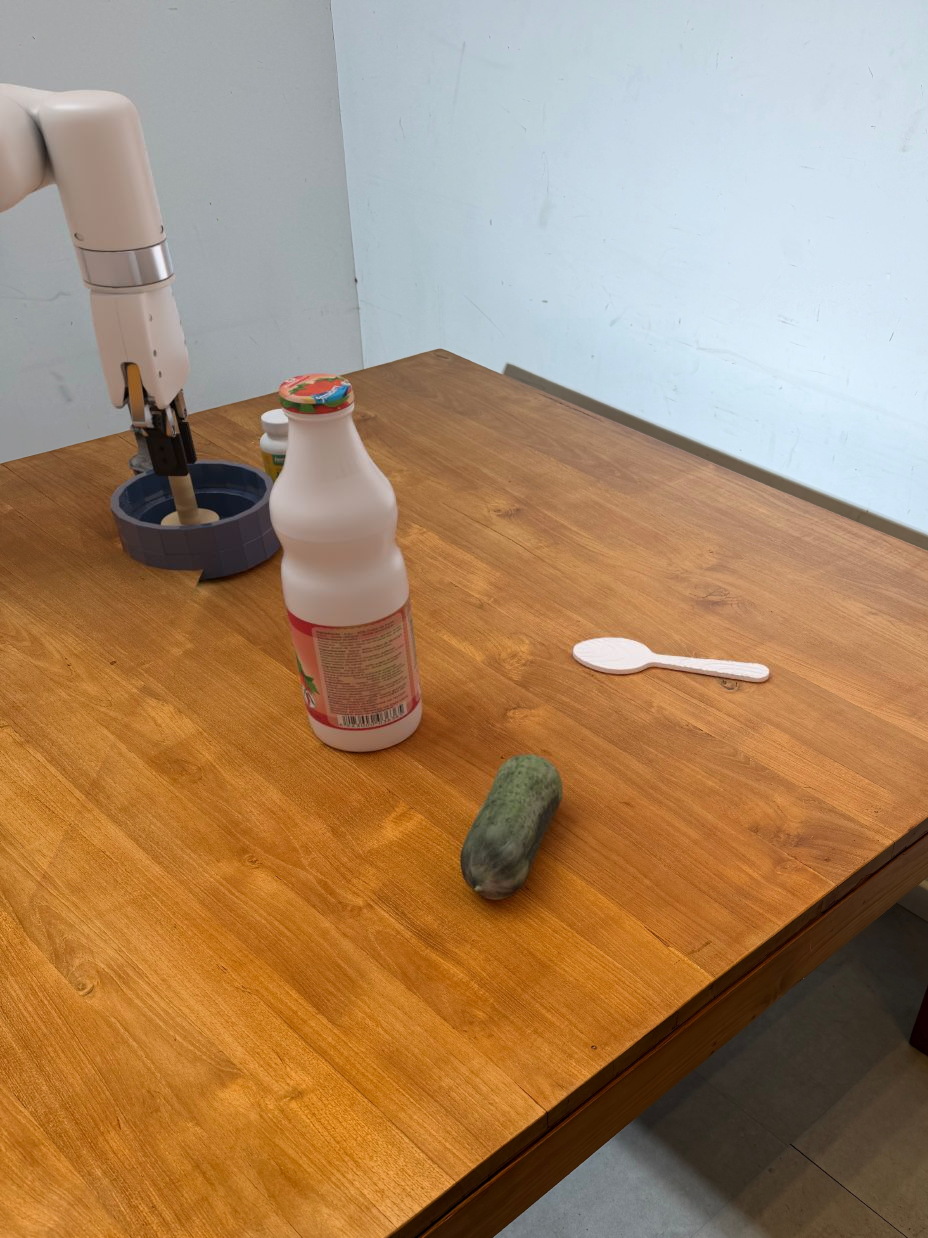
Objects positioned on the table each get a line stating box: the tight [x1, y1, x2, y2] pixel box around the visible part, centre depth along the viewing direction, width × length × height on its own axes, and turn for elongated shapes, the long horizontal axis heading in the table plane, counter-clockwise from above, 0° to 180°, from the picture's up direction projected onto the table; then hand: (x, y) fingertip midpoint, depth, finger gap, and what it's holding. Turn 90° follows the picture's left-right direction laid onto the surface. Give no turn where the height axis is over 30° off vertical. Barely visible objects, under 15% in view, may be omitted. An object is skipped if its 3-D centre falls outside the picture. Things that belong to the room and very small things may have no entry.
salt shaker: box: [126, 398, 153, 476], centre depth 122 cm, size 6×6×12 cm
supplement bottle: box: [259, 408, 289, 483], centre depth 121 cm, size 5×5×10 cm
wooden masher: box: [152, 408, 220, 526], centre depth 109 cm, size 6×6×12 cm
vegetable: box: [459, 753, 564, 901], centre depth 81 cm, size 14×5×5 cm, turn 167°
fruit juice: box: [269, 373, 423, 753], centre depth 85 cm, size 9×9×28 cm
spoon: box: [572, 636, 770, 683], centre depth 102 cm, size 5×18×1 cm, turn 80°
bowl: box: [110, 459, 282, 581], centre depth 114 cm, size 16×16×6 cm
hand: (176, 467), depth 109 cm, fingers closed on wooden masher
